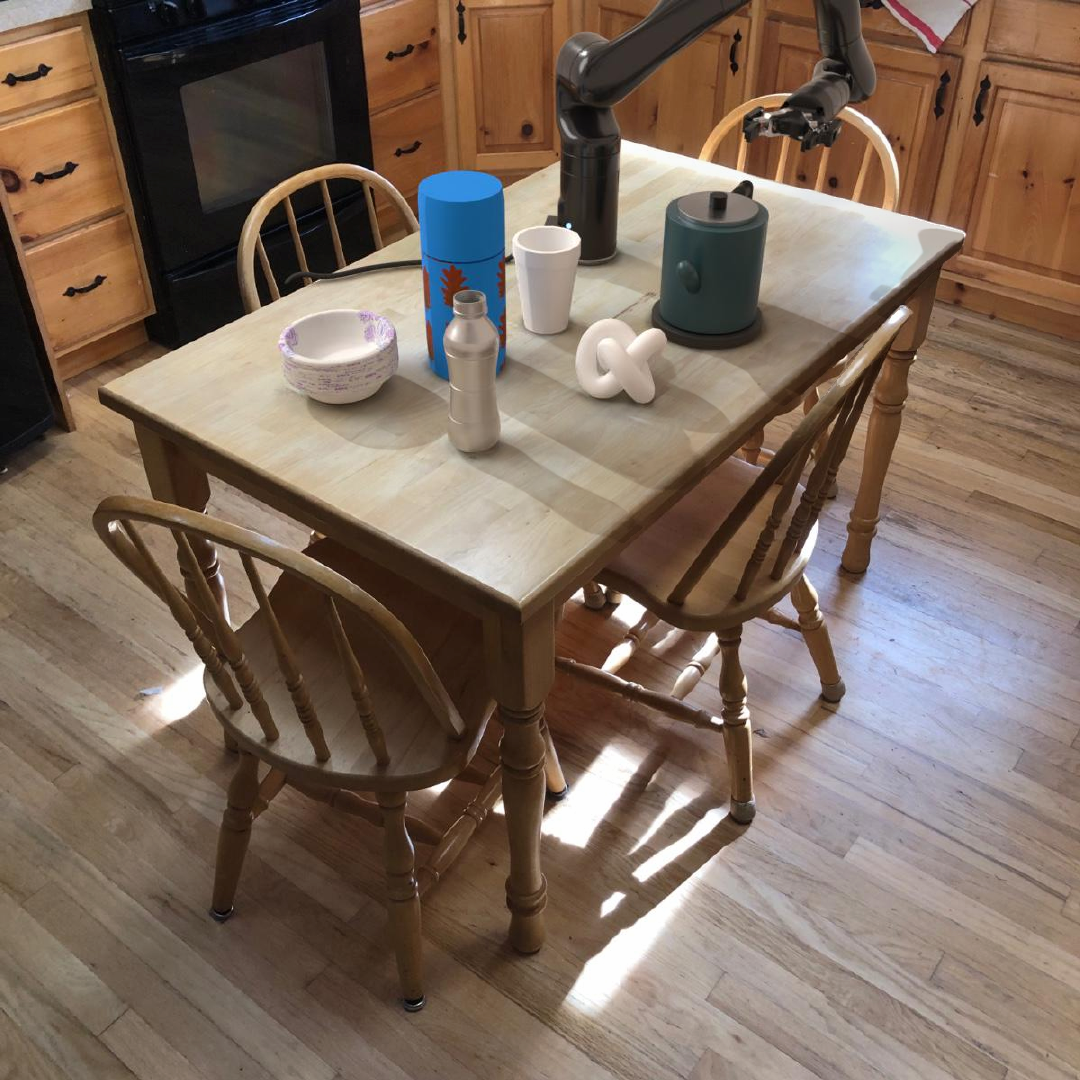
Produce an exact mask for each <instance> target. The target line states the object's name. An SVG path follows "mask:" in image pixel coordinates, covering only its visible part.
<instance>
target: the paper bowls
mask: <svg viewBox="0 0 1080 1080" xmlns="http://www.w3.org/2000/svg"><path fill="white" fill-rule="evenodd" d="M277 346H278V352H279V359H280V362H281V363H280V364H281V369H282V372H283V376H284V379H285V380H286V382H288V383H289V385H291V386H292V387H293V388H296V389H297V390H299V391H301V392H304V393H306V395H307V396H309V397H310V398H312V399H313V400H316V401H318V402H321V403H325V404H332V405H345V404H353V403H356V402H360V401H362V400H363V401H364V400H366V399H367V398H369V397H371V396H373V395H374V394H376V393H377V392H378V391H379V389H381V387H382V385H383V384H384V383H385V382H386V381H388V380H389V379H390V378H391V377H392V376H394V374H395V373H396V372H397V369H398V368H399V363H400V362H399V361H400V358H399V357H400V356H399V347H398V336H397V331H396V328H395V326H394V324H393V323H392V322H391V321H390V320H389V319H387V317H384V316H382V315H381V314H379V313H376V312H373V311H369V310H364V309H357V308H356V309H355V308H338V309H327V310H322V311H317V312H315V313H311V314H308V315H305V316H303V317H300V318H298V319H297V320H294V321H293V322H292V323H290V324H289V325H287V326H286V327H285V329H283V330H282V332H281V334H280V335H279V338H278V341H277Z"/></svg>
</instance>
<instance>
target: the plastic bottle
mask: <svg viewBox="0 0 1080 1080" xmlns="http://www.w3.org/2000/svg"><path fill="white" fill-rule="evenodd" d="M453 304H454V306H453V313H454V314H455V315H456V316H455V317H454V318H453V320H452V321H451V322H450V324H449V325H448V327H447V329H446V330H445V334H444V338H443V342H444V348H445V354H446V359H447V364H448V370H449V379H450V380H449V406H448V413H447V418H446V425H445V429H446V434H447V437H448V441H449V442H450V444H451V445H452V446H453V447H454V448H455V449H457V450H459V451H461V452H465V453H482V452H485V451H488V450H490V449H491V448H494V446H495V445H496V443H497V442H498V441H499V439H500V435H501V430H502V423H501V417H500V413H499V410H498V409H499V408H498V402H497V391H496V376H497V374H496V364H497V357H498V350H499V341H500V337H499V334H498V331H497V328H496V327H495V325H494V324H493V323H492V321H491V320H490V319H489V318H488V317H487V316H486V315H485V314H486V313H487V305H486V296H485V294H484V293H482V292H480V291H476V290H465V291H460V292H458V293H456V294H455V295H454V297H453Z"/></svg>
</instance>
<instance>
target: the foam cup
mask: <svg viewBox="0 0 1080 1080" xmlns="http://www.w3.org/2000/svg"><path fill="white" fill-rule="evenodd" d="M511 241H512V242H511V243H512V252H513V257H514V259H513V260H514V263H515V271H516V277H517V285H518V292H519V299H520V305H521V312H522V313H521V314H522V319H523V320H522V321H523V325H524V327H525V329H527V331H530V332H531V333H534V334H535V333H536V334H538V335H539V334H540V335H553V334H558V333H561V332H563V331H564V330H566V329H567V327H568V325H569V320H570V314H571V308H572V301H573V295H574V290H575V289H574V288H575V284H576V283H575V282H576V277H577V270H578V265H579V264H578V260H579V257H580V255H581V239H580V237H579V236H578V234H577V233H576V232H573V231H571V230H569V229H567V228H562V227H557V226H544V225H537V226H531V227H526V228H524V229H522V230H520V231H517V232H516V233H515V234H514V236H513V237H512V239H511Z"/></svg>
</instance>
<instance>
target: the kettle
mask: <svg viewBox="0 0 1080 1080" xmlns="http://www.w3.org/2000/svg"><path fill="white" fill-rule="evenodd" d="M754 187H755V186H754V184H753V181H751V180H749V179H744V180H741V181H740V183H739V184H738V185H737V186H736V187H735V188H733V190H731V191H723V190H702V191H695V192H692V193H688V194H686V195H685V194H684V195H682V196H679V197H677V198H674V199H673V200H671V201H669V203H668V204H667V206H666V207H665V216H664V217H665V219H664V220H665V221H664V232H663V246H662V261H661V275H660V276H661V277H660V287H659V299H660V301H659V312H660V315H661V316H662V317H663V319H664V320H666V321H667V322H668V323H670V324H671V325H673V326H675V327H678V328H680V329H683V330H687V331H691V332H696V333H703V334H723V333H730V332H735V331H738V330H741V329H744V328H746V327H747V326H749V325H750V324H752V323H753V321H754V320H755V318H756V314H757V306H758V307H759V297H760V289H761V282H762V281H761V280H762V274H763V264H764V258H765V257H764V256H765V250H766V241H767V233H768V225H769V219H770V213H769V210H768V209H767V207H765V206H764V204H762V203H760V202H759V201H756V200H754V199H753V197H754V191H755V190H754V189H755V188H754Z"/></svg>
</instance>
